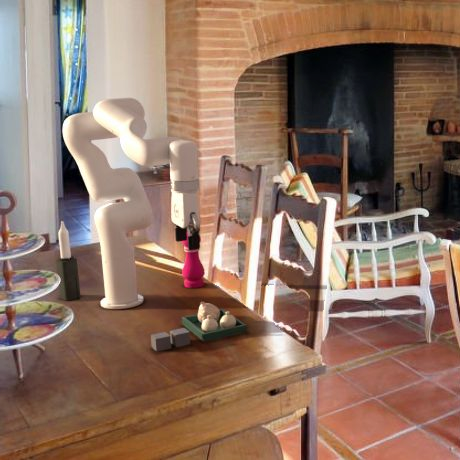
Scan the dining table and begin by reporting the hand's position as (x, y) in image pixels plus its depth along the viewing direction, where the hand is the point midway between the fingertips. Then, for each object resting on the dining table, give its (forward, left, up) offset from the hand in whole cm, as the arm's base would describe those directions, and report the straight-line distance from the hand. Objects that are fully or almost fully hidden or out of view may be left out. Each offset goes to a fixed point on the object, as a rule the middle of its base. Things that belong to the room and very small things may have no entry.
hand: (187, 244), depth 225 cm
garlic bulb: (+4, +3, -23) cm, 24 cm away
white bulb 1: (+11, +1, -23) cm, 26 cm away
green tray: (+8, +3, -24) cm, 25 cm away
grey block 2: (+14, -8, -24) cm, 29 cm away
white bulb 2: (+11, +6, -23) cm, 27 cm away
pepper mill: (-36, +14, -24) cm, 45 cm away
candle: (-46, -23, -24) cm, 57 cm away
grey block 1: (+14, -14, -24) cm, 31 cm away
